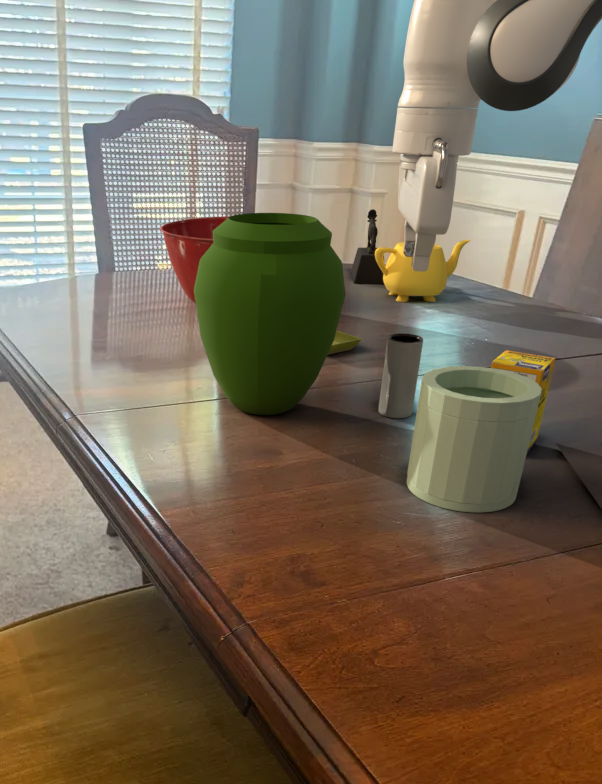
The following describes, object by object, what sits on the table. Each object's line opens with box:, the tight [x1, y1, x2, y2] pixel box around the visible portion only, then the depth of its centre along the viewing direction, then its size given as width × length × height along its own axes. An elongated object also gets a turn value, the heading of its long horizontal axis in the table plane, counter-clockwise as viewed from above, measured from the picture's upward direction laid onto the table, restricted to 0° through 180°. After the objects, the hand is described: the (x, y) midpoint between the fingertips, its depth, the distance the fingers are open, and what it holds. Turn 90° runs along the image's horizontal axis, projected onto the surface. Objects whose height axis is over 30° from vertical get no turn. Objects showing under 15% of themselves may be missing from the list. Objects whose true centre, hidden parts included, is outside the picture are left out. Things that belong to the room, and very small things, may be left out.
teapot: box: [375, 239, 472, 303], centre depth 164 cm, size 13×20×12 cm
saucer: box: [327, 329, 362, 356], centre depth 131 cm, size 9×9×2 cm
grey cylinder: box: [377, 332, 424, 419], centre depth 103 cm, size 4×4×10 cm
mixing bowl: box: [160, 216, 230, 305], centre depth 155 cm, size 28×28×16 cm
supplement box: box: [490, 349, 556, 455], centre depth 93 cm, size 6×6×11 cm
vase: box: [194, 212, 346, 416], centre depth 101 cm, size 20×20×24 cm
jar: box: [406, 365, 542, 514], centre depth 82 cm, size 12×12×12 cm
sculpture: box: [350, 209, 385, 285], centre depth 180 cm, size 8×13×15 cm, turn 171°
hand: (414, 262), depth 95 cm, fingers open, 8 cm apart
